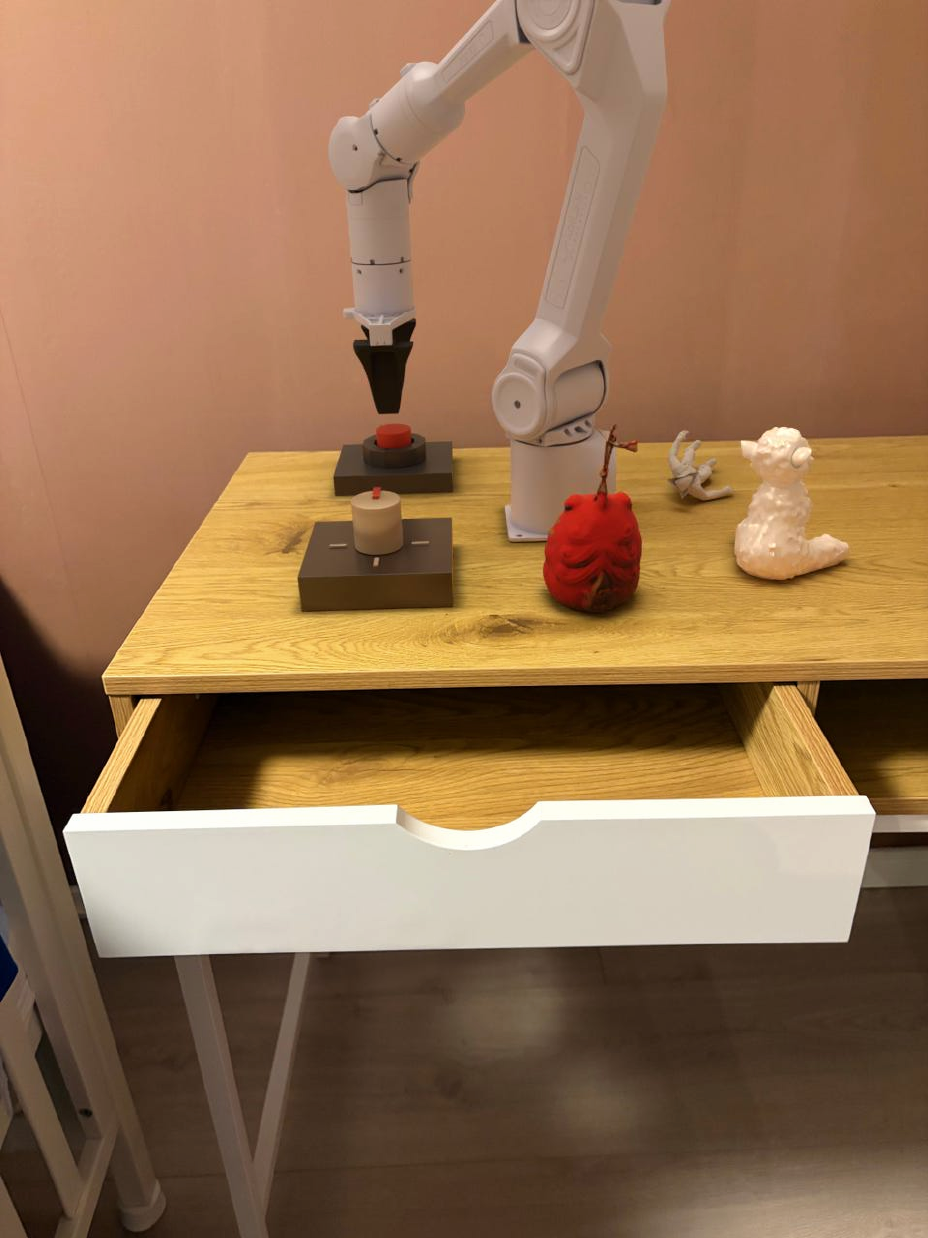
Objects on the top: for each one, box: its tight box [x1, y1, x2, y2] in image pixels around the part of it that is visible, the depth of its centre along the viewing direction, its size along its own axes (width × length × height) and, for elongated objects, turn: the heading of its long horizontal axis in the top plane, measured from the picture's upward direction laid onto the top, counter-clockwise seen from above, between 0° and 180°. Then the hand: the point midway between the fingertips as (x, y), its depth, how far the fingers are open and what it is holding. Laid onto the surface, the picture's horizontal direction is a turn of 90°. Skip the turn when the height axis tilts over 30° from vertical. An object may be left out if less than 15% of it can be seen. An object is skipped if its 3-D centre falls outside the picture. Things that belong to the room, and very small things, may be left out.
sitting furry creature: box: [733, 426, 850, 581], centre depth 76 cm, size 10×9×12 cm
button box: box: [332, 432, 454, 497], centre depth 99 cm, size 12×10×4 cm
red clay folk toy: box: [542, 423, 643, 613], centre depth 71 cm, size 8×7×15 cm
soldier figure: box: [666, 430, 735, 502], centre depth 93 cm, size 8×5×12 cm
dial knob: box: [350, 487, 403, 555], centre depth 76 cm, size 4×4×4 cm
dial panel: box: [296, 517, 454, 612], centre depth 78 cm, size 12×11×3 cm
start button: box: [375, 423, 412, 448], centre depth 98 cm, size 4×4×2 cm
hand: (390, 401), depth 96 cm, fingers open, 7 cm apart
